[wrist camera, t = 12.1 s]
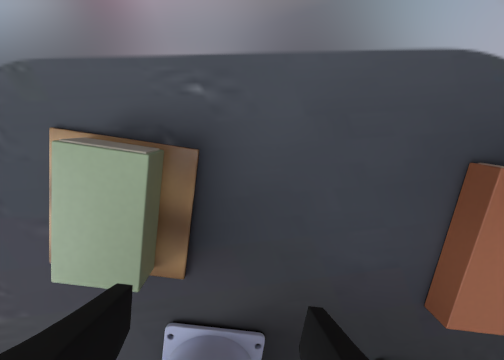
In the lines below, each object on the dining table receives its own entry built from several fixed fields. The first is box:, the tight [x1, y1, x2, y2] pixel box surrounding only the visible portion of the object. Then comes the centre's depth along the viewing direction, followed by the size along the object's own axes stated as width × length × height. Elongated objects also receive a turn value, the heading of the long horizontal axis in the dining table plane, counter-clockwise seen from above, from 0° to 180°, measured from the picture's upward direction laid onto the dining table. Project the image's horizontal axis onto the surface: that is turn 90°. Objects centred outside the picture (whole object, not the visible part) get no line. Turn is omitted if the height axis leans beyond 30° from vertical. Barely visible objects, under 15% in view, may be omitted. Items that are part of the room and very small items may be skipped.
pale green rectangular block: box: [51, 137, 164, 292], centre depth 18 cm, size 9×6×3 cm, turn 171°
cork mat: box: [49, 128, 199, 279], centre depth 19 cm, size 10×10×1 cm
